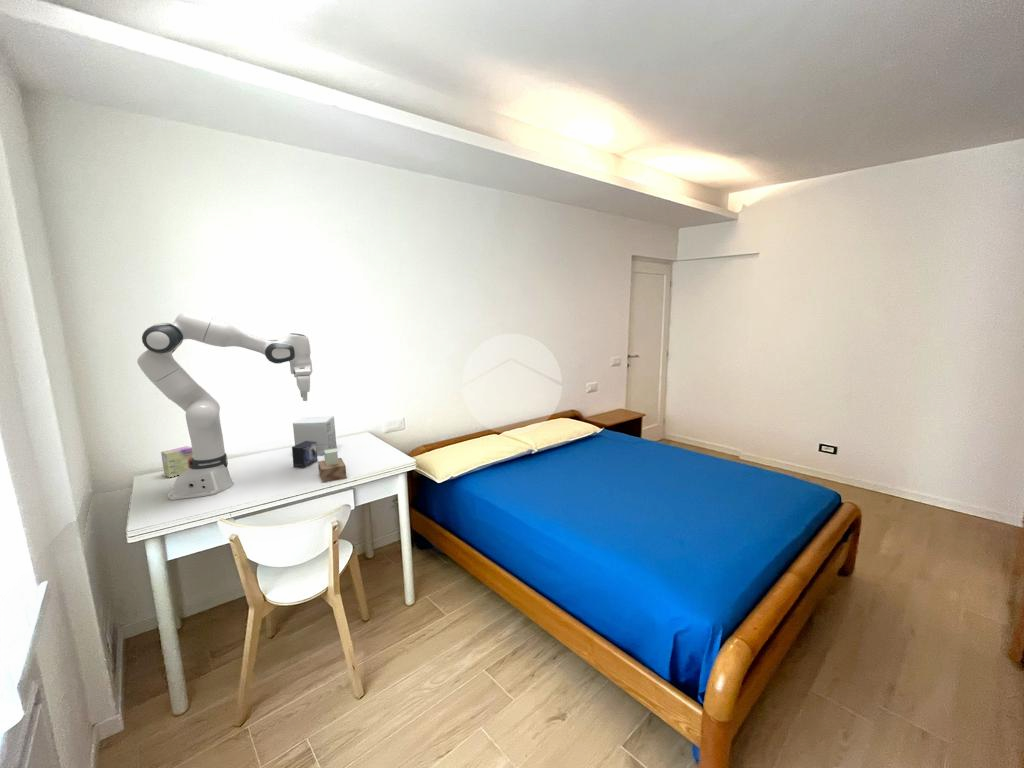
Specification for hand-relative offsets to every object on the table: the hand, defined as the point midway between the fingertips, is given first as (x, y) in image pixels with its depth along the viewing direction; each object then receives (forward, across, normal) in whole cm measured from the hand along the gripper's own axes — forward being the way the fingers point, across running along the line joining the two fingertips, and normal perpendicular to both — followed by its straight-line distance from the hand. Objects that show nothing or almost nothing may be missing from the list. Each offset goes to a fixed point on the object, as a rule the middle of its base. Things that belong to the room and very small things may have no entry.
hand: (304, 399), depth 194 cm
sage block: (+29, +11, +8) cm, 32 cm away
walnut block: (+35, +11, +8) cm, 38 cm away
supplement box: (+35, -30, +6) cm, 47 cm away
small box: (+35, -12, -1) cm, 37 cm away
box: (+35, -30, -53) cm, 70 cm away
